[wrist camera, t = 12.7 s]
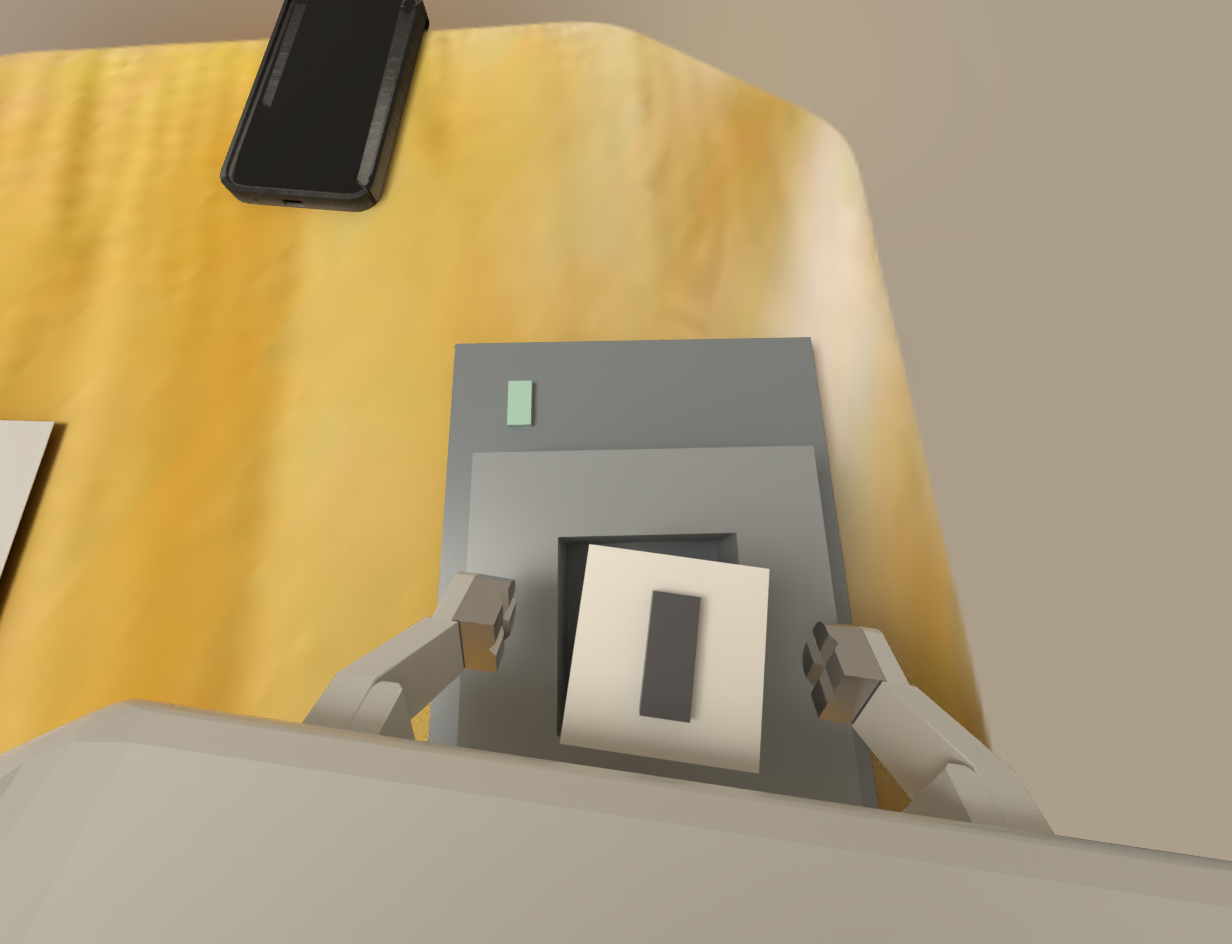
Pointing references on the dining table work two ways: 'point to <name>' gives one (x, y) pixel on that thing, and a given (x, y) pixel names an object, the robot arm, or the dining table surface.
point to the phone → (326, 104)
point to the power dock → (634, 421)
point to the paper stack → (18, 473)
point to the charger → (669, 659)
